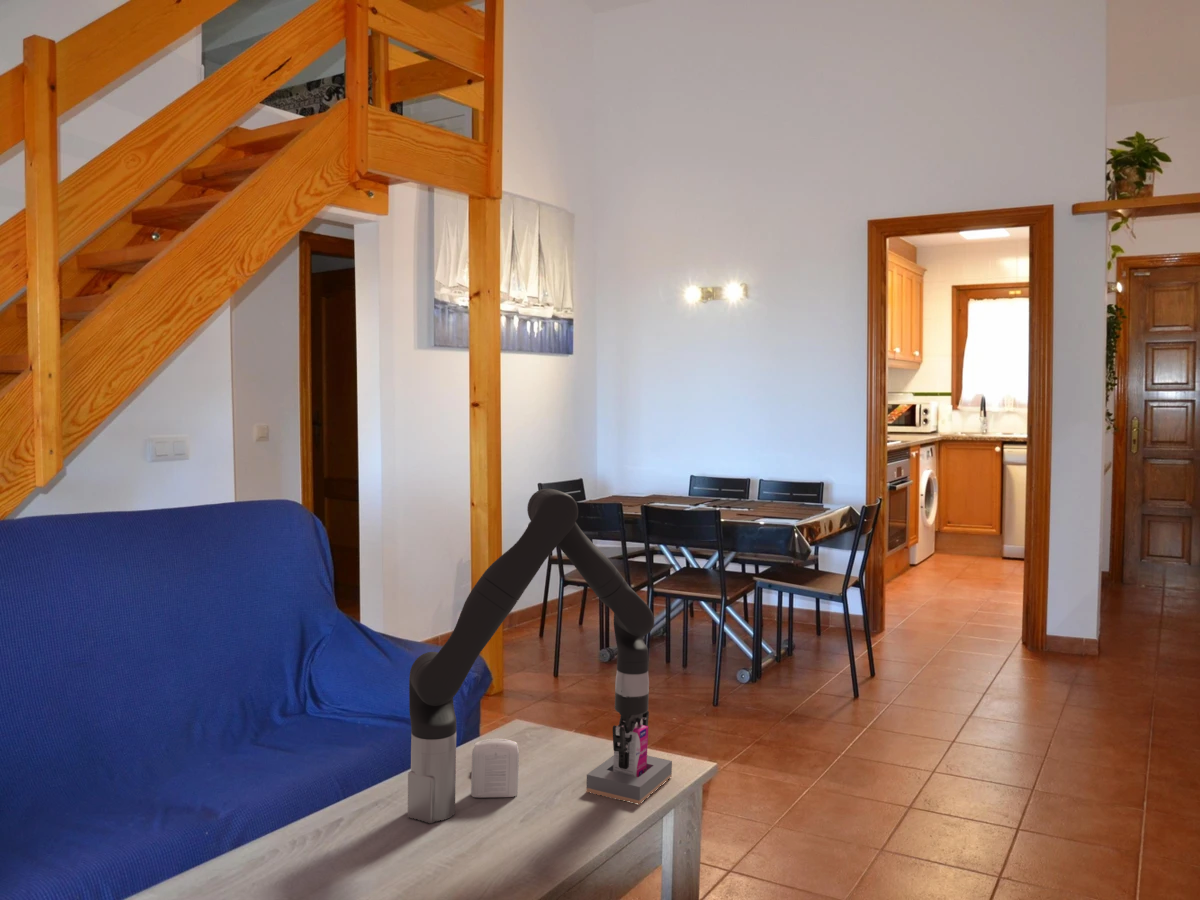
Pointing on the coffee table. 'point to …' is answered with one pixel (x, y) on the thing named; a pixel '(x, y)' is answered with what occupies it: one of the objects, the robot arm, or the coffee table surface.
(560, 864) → the coffee table surface
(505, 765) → the photo printer
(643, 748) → the supplement box
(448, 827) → the coffee table surface
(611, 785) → the plate
